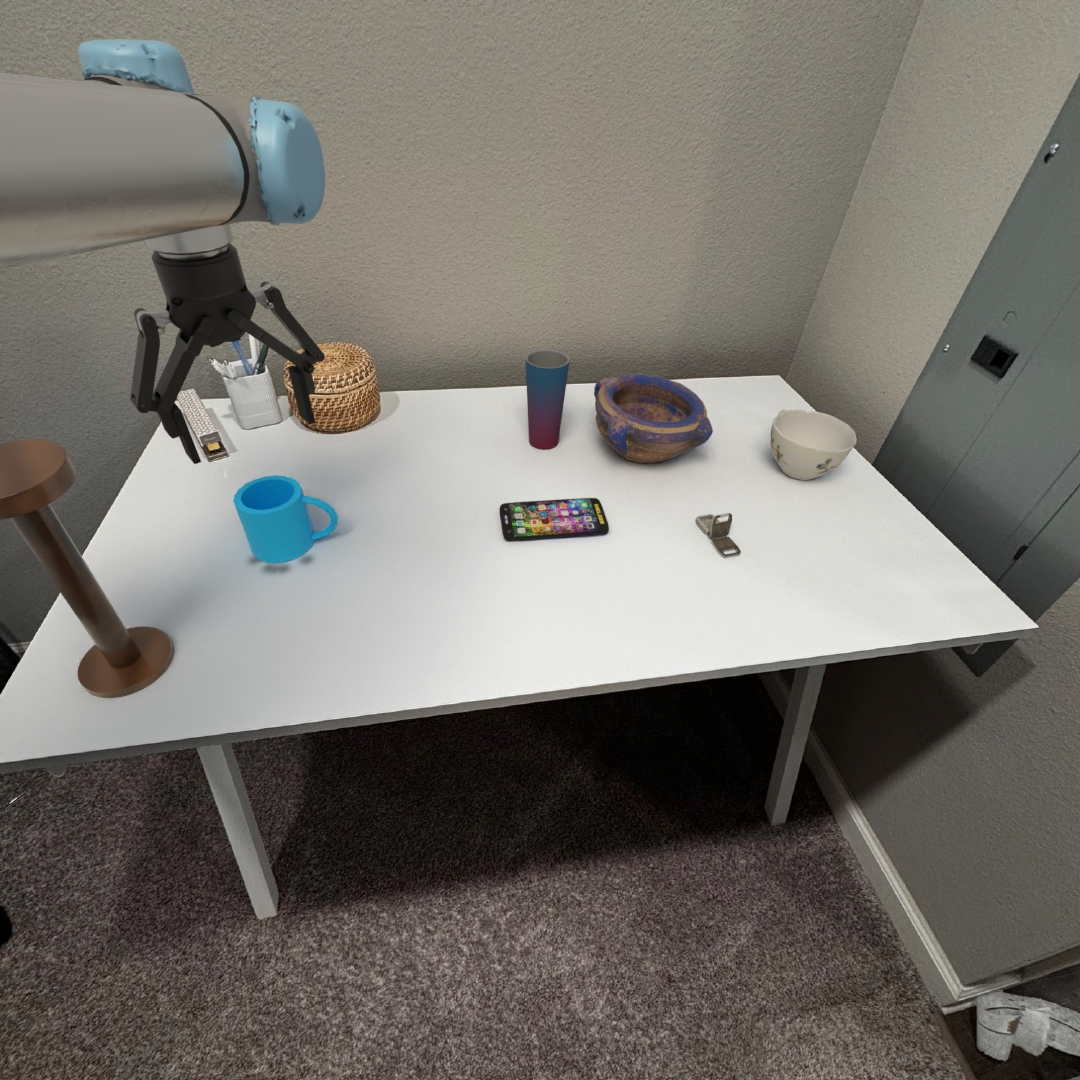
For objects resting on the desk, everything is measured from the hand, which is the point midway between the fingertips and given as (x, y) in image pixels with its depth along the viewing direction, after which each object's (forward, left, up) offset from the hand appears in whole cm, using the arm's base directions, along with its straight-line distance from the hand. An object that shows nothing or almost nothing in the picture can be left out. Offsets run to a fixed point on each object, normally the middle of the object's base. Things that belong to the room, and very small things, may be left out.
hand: (253, 437), depth 74 cm
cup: (+44, -3, -17) cm, 47 cm away
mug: (+1, -1, -17) cm, 17 cm away
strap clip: (+47, -37, -17) cm, 62 cm away
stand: (-22, -9, -16) cm, 29 cm away
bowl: (+56, -15, -17) cm, 60 cm away
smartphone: (+31, -20, -16) cm, 40 cm away
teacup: (+72, -34, -17) cm, 81 cm away
